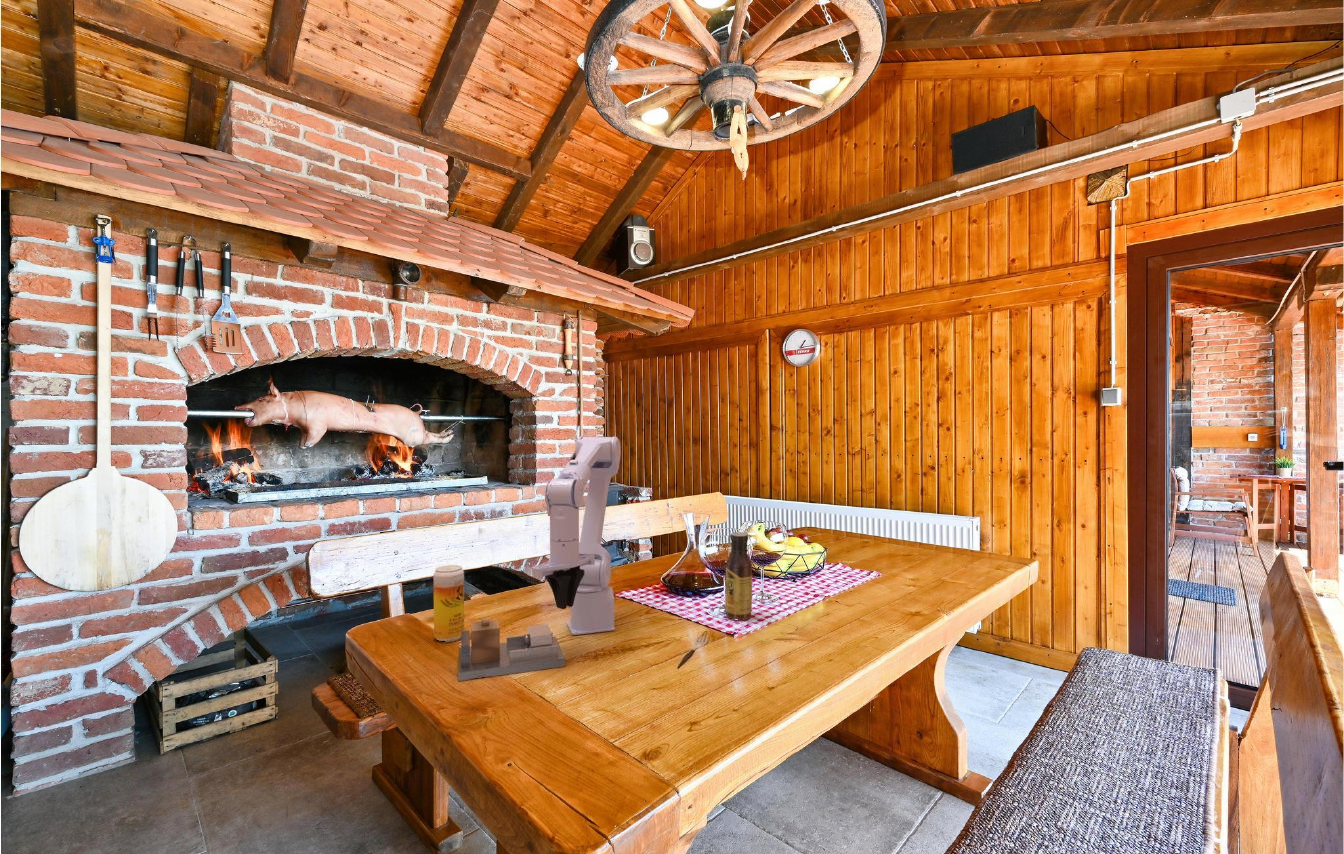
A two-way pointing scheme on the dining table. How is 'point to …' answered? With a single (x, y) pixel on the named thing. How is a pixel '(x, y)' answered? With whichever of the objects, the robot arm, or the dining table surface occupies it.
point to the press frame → (509, 658)
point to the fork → (692, 650)
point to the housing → (485, 640)
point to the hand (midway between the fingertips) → (564, 606)
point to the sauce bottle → (738, 579)
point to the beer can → (448, 603)
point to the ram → (538, 636)
